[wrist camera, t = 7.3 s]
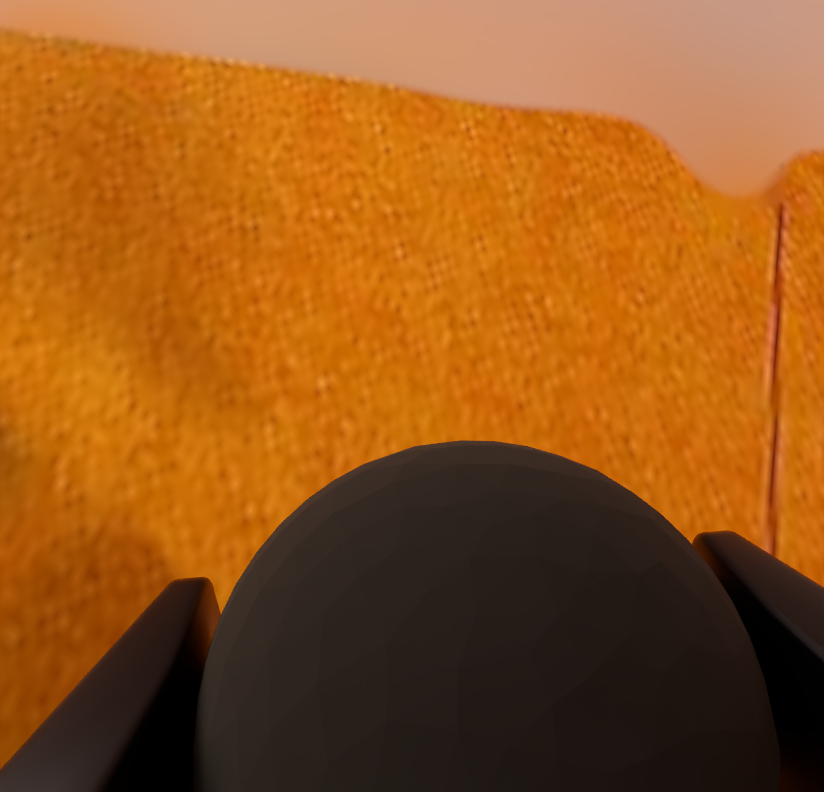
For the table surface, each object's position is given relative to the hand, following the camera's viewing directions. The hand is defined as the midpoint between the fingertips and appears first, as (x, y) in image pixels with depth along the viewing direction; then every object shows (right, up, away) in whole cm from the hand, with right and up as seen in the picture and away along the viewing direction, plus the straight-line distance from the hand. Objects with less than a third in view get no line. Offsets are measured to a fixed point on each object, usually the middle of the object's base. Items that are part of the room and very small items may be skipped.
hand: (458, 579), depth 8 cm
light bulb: (0, -3, +6) cm, 7 cm away
